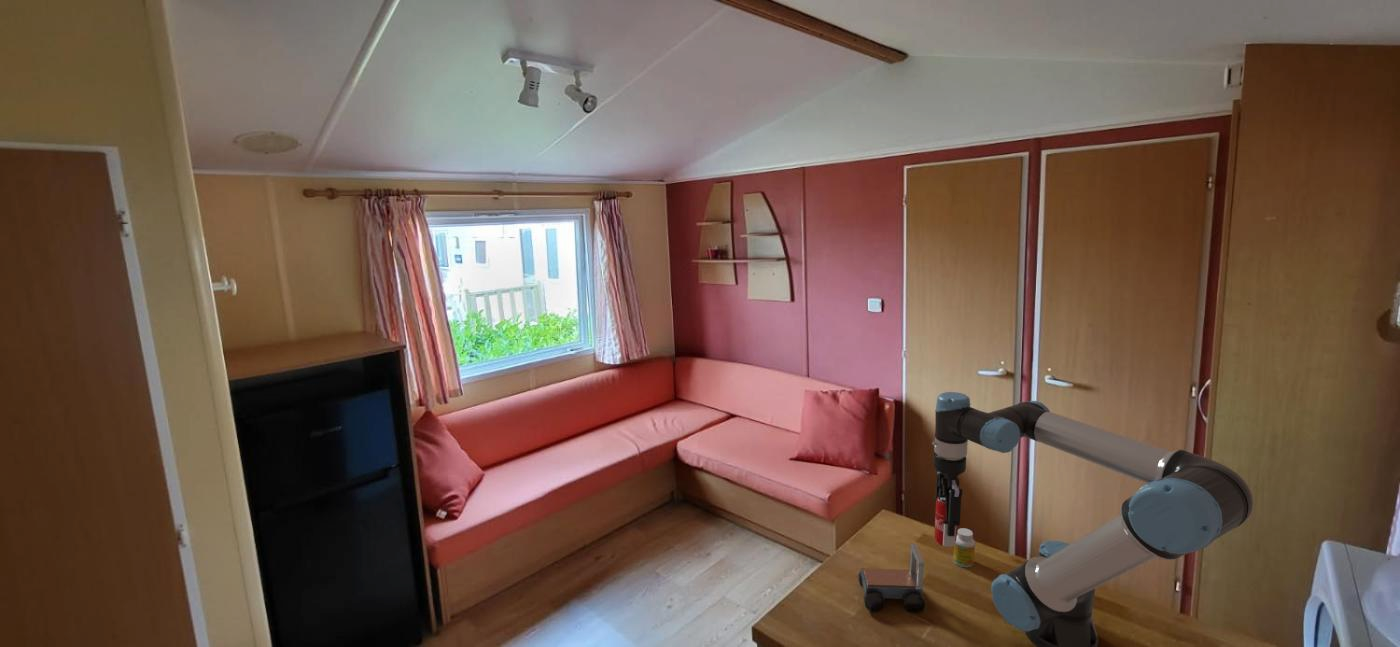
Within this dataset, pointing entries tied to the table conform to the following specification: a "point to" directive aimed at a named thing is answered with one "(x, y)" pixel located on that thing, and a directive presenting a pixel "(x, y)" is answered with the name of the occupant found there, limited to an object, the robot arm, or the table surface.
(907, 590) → the trolley
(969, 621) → the table surface
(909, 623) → the table surface
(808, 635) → the table surface
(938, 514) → the beverage can
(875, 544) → the table surface
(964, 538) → the supplement bottle
